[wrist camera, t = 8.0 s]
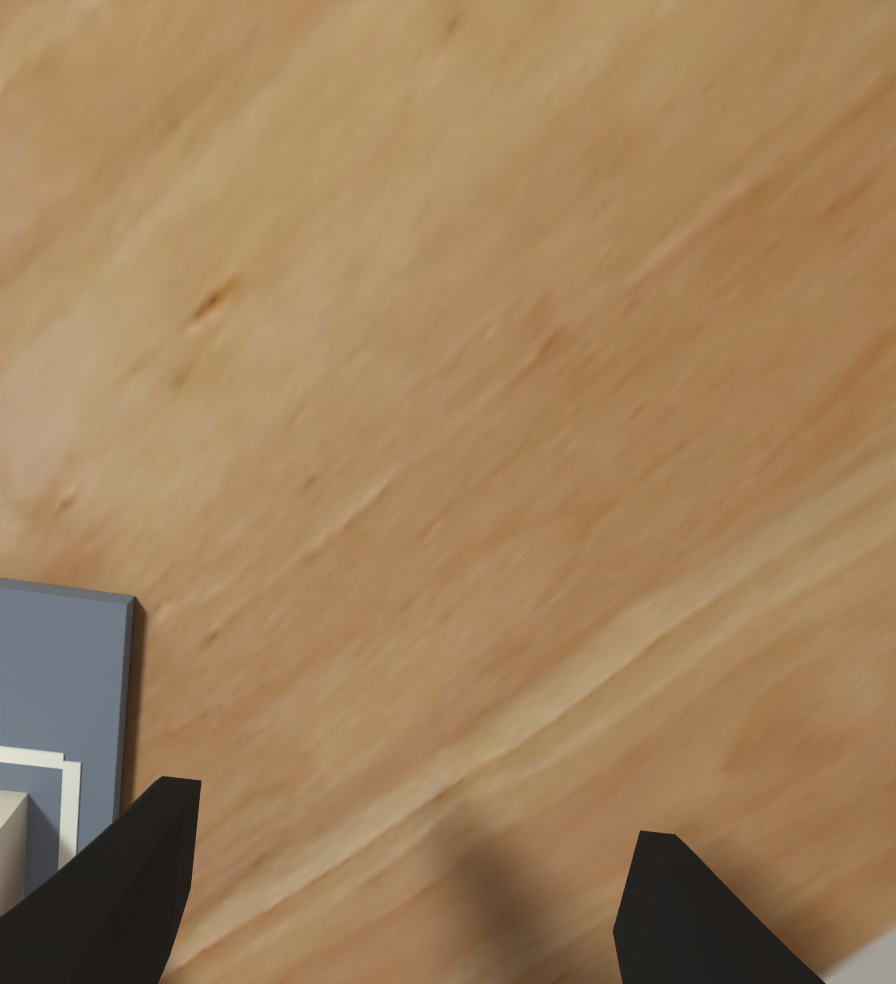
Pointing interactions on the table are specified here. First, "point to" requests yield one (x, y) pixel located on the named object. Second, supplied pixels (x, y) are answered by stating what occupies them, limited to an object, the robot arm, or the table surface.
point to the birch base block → (12, 848)
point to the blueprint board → (63, 714)
